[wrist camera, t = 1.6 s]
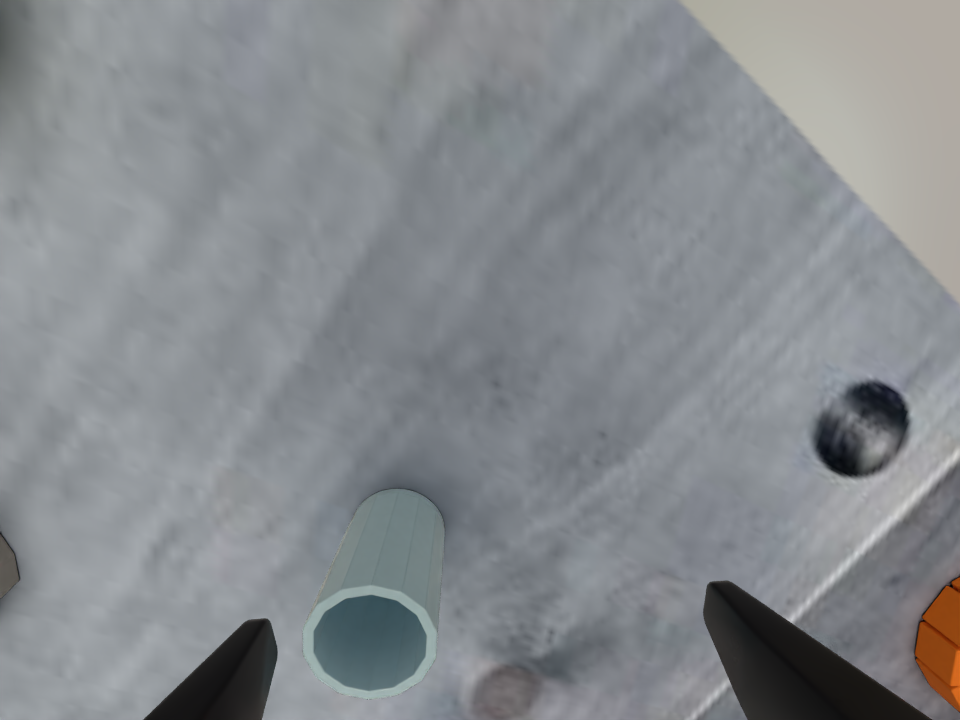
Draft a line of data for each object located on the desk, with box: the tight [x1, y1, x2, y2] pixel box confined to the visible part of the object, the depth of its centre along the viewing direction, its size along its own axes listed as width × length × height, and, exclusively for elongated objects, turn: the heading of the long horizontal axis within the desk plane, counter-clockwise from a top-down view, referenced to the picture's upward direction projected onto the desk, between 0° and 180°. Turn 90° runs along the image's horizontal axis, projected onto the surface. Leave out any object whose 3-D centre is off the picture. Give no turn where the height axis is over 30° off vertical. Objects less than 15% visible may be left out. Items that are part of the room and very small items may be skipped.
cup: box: [303, 489, 445, 700], centre depth 19 cm, size 5×5×7 cm
